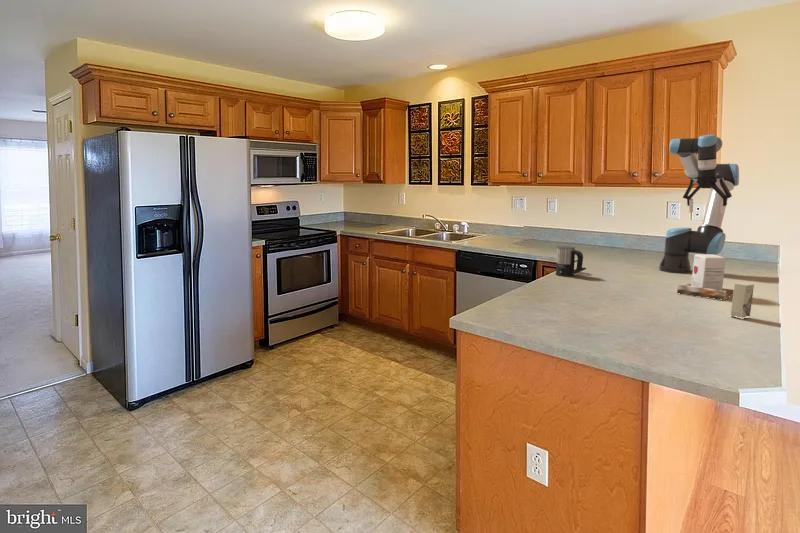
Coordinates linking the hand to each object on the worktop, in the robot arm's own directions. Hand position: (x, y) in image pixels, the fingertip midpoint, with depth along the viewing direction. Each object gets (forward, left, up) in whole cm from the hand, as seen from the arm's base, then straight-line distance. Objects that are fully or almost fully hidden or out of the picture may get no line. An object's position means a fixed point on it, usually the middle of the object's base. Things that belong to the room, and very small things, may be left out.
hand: (706, 212), depth 243 cm
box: (+29, -63, -34) cm, 77 cm away
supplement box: (+10, -30, -32) cm, 45 cm away
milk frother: (-52, -31, -34) cm, 70 cm away
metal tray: (+10, -31, -33) cm, 47 cm away
